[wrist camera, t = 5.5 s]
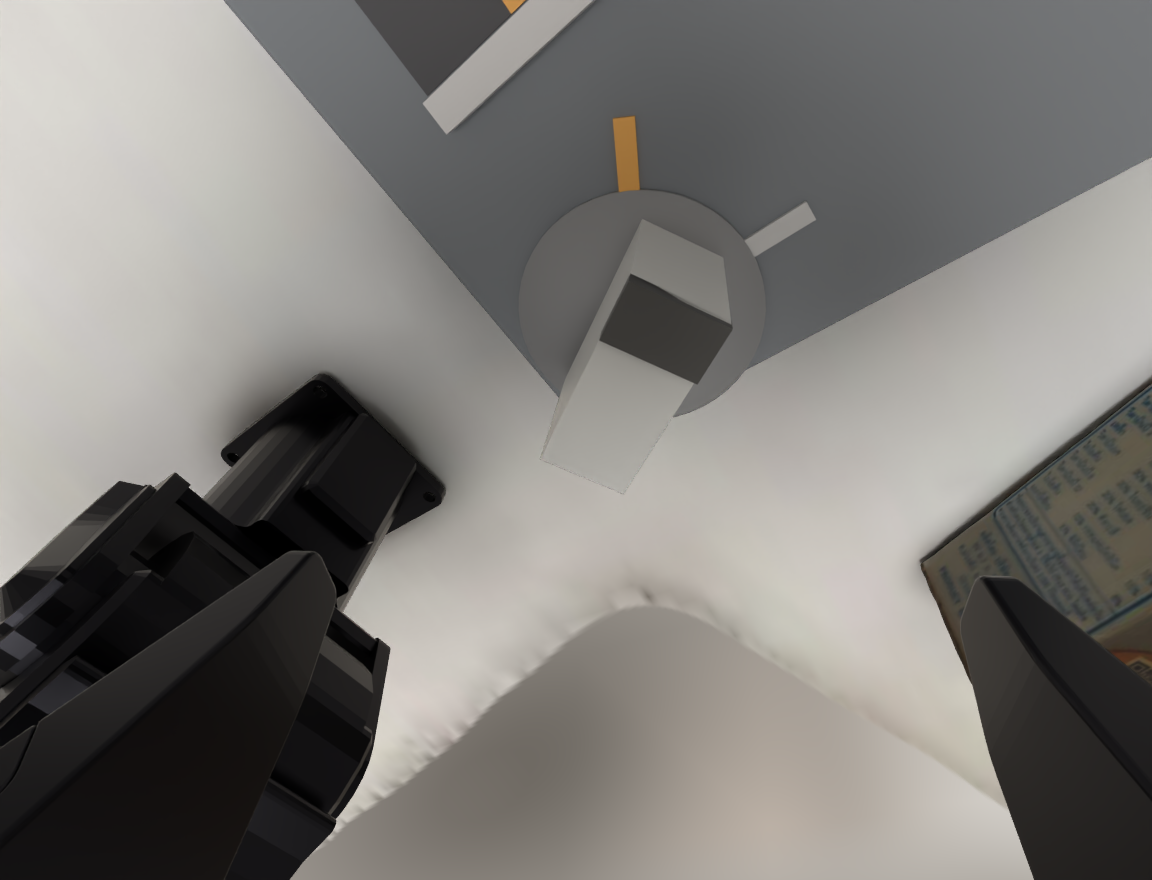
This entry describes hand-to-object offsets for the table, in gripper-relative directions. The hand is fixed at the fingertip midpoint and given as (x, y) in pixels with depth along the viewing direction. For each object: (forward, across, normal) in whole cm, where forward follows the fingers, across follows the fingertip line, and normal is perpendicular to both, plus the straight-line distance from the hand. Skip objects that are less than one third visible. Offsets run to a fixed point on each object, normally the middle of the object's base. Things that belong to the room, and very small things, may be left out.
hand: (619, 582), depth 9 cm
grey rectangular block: (+10, 0, +1) cm, 10 cm away
